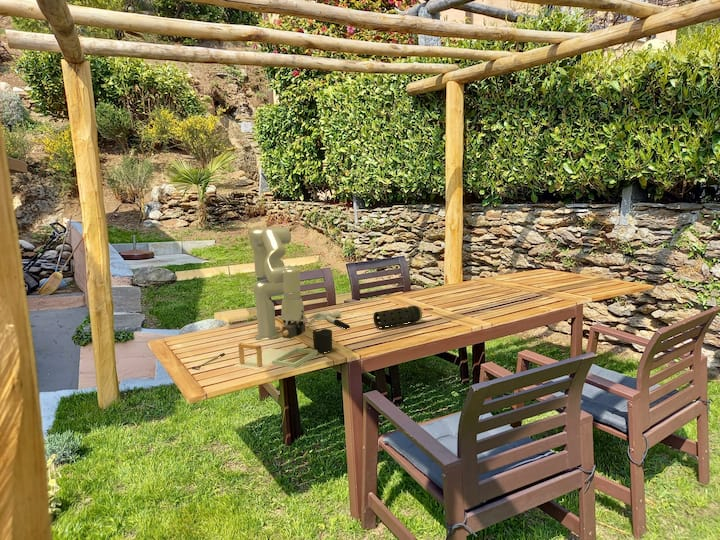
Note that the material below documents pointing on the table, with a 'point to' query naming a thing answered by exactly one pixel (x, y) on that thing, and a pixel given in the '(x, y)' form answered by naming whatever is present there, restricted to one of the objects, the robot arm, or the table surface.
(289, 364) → the tray
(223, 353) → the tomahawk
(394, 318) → the muzzle brake
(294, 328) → the dark grey block
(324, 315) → the claw hammer
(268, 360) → the board
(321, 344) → the pen holder
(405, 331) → the table surface
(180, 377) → the table surface
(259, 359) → the orange pull handle
